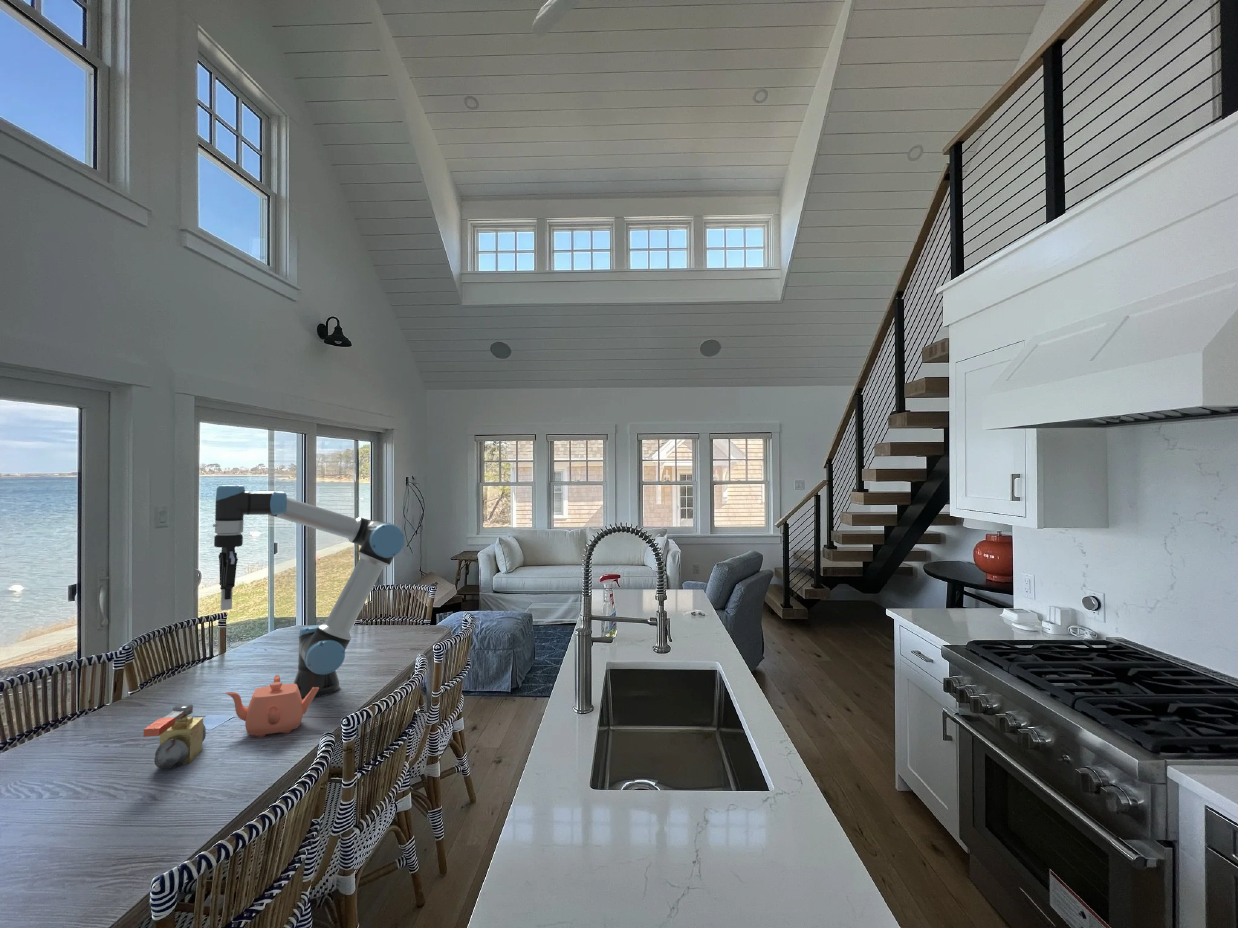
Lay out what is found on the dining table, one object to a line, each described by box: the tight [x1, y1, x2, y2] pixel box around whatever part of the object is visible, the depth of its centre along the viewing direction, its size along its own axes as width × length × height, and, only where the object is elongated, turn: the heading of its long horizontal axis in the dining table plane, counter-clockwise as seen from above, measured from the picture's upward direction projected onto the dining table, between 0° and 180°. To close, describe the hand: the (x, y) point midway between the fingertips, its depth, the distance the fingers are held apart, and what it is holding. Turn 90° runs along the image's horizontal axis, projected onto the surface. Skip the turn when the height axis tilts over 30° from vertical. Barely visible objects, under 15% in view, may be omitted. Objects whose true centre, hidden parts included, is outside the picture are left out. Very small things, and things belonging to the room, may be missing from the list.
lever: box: [142, 703, 194, 737], centre depth 156 cm, size 17×4×2 cm, turn 10°
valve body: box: [153, 715, 207, 770], centre depth 161 cm, size 18×7×12 cm, turn 15°
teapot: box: [225, 674, 319, 738], centre depth 181 cm, size 18×18×14 cm
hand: (226, 609), depth 188 cm, fingers closed
